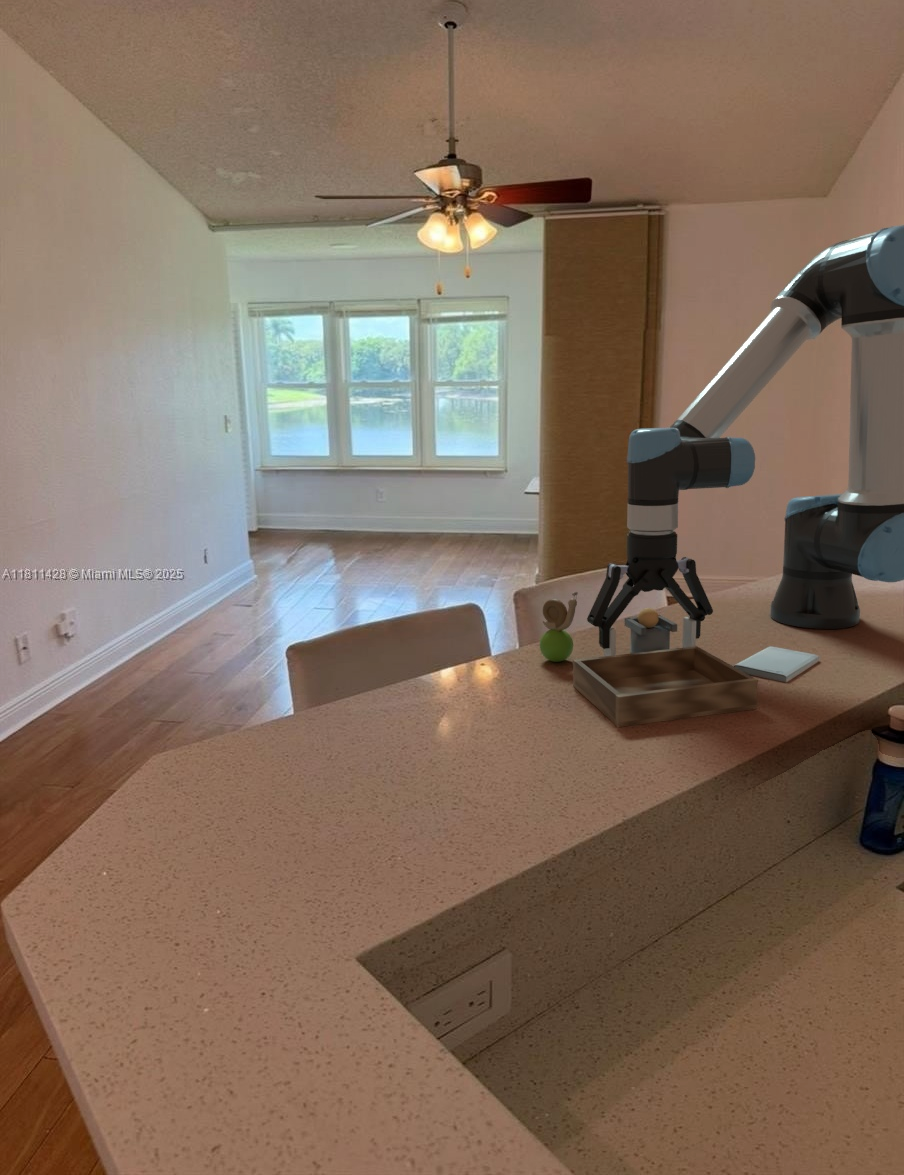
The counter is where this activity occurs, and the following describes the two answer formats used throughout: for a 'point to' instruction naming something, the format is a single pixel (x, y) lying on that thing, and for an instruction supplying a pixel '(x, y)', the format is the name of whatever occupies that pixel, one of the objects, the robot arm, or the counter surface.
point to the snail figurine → (557, 629)
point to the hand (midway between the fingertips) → (649, 662)
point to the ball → (648, 617)
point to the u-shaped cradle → (650, 635)
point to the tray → (663, 685)
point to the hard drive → (777, 663)
